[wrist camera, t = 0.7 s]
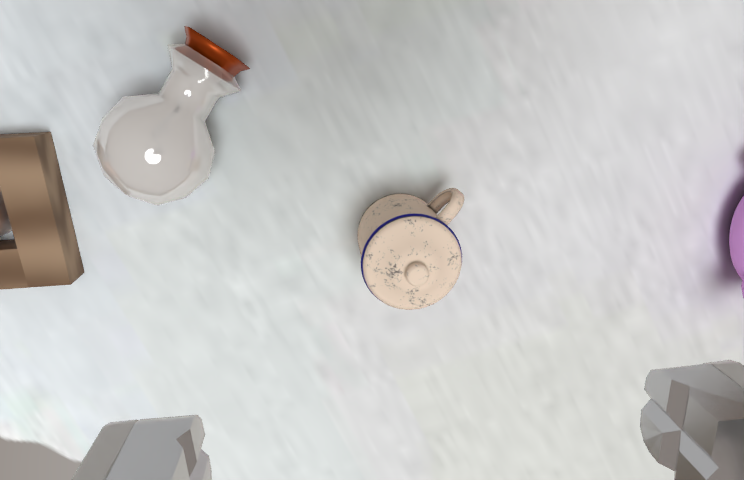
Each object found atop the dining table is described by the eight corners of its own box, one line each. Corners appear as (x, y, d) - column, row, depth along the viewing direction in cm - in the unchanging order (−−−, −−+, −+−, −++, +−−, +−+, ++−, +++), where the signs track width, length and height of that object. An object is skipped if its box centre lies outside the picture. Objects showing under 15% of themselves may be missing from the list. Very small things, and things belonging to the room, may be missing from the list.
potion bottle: (137, 180, 52) (212, 46, 50) (201, 232, 48) (284, 90, 46) (49, 156, 43) (137, -6, 41) (120, 218, 39) (219, 43, 38)
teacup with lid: (401, 289, 57) (421, 344, 46) (336, 238, 54) (341, 284, 43) (478, 206, 54) (518, 244, 43) (414, 150, 52) (440, 174, 41)
